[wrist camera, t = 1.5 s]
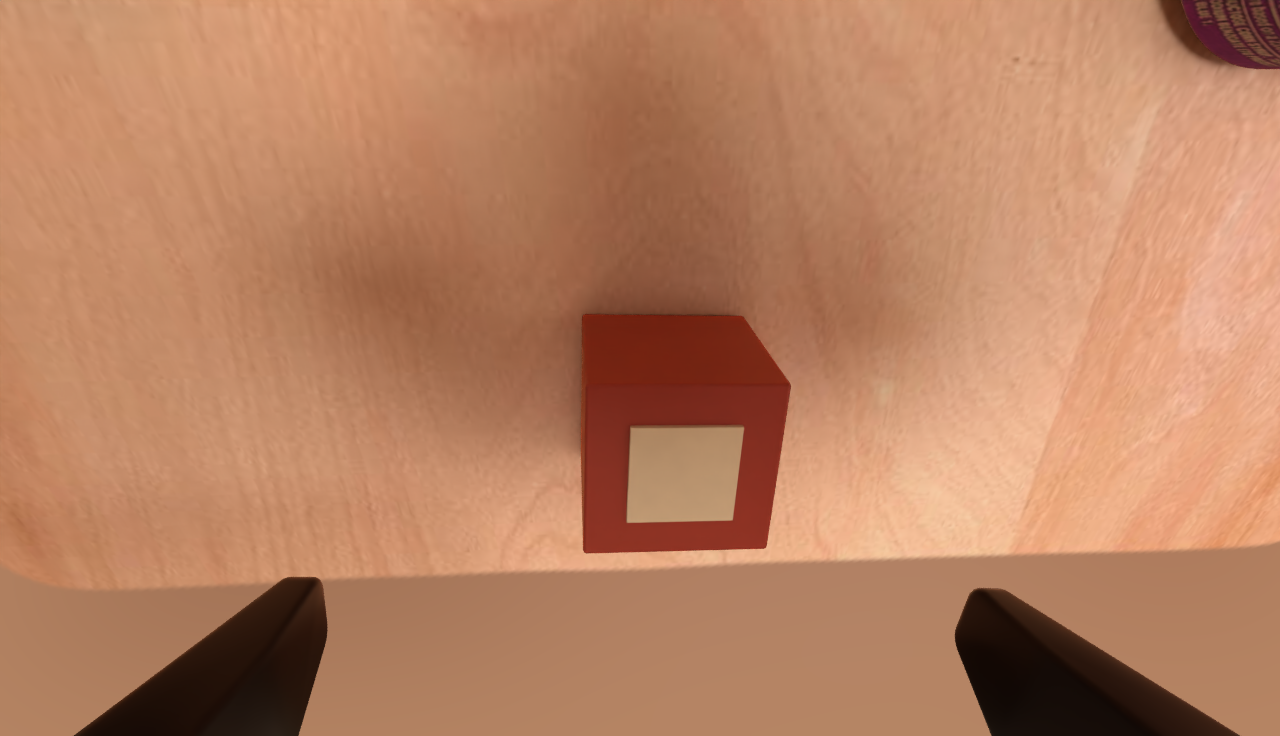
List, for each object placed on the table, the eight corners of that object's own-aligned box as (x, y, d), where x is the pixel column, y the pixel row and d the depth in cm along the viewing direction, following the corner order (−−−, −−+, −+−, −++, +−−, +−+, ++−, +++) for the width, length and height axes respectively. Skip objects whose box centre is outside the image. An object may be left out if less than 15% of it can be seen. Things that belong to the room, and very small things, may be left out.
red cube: (727, 453, 22) (768, 553, 18) (581, 455, 22) (583, 558, 17) (743, 314, 20) (794, 387, 16) (582, 313, 20) (585, 386, 15)
